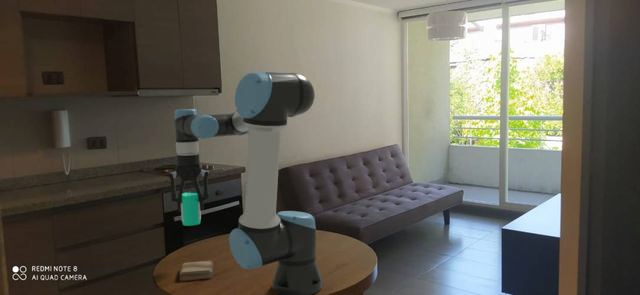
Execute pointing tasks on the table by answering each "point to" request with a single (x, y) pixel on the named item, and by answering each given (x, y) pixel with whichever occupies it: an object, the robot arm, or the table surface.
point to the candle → (190, 209)
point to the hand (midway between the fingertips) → (191, 219)
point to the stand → (196, 270)
